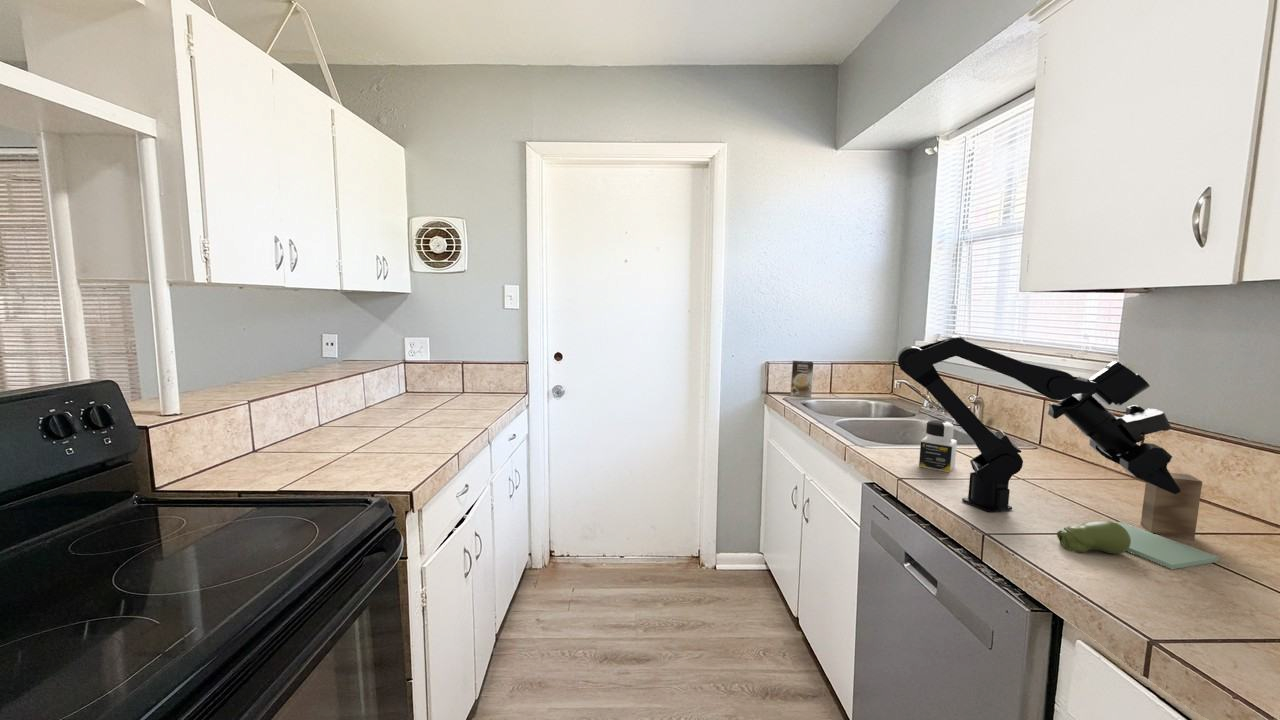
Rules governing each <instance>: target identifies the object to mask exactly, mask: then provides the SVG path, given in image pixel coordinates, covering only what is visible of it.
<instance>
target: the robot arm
mask: <svg viewBox="0 0 1280 720" xmlns="http://www.w3.org/2000/svg"><path fill="white" fill-rule="evenodd" d="M955 357H958V358H961V359H963V360H966V361H968V362H971V363H974V364H976V365H979V366H981V367H984V368H986V369H989V370H992V371H994V372H997V373H1000V374H1002V375H1003V376H1007V377H1010V378H1012V379H1015V380H1016V381H1017V382H1020V383H1022V384H1023V385H1025V386H1027V387H1029V388H1031V390H1034V391H1035V392H1037V393H1038V394H1041V395H1043V396H1044V397H1046V398H1048V399H1051V400H1054V401H1058V402H1056V403H1055V402H1054V403H1053V402H1049V403H1048V406H1049V407H1048V411H1047V415H1048V416H1050V417H1051V418H1053V419H1055V420H1056V419H1058V418H1060V417H1061V416H1063V415H1064V416H1065V417H1066V418H1067V419H1068V421H1070V422H1071V423H1072V424H1073V425H1074V426H1076V427H1077V428H1078V429H1079V430H1080V433H1082V435H1084V436H1086V437H1087V438H1089V446H1090V447H1091V448H1092V449H1093V450H1094V451H1095V452H1096V453H1098V454H1099V455H1101V456H1102V457H1104V458H1105V459H1107V460H1110V461H1111V462H1114V463H1115V464H1118V465H1120V466H1121V467H1122V468H1123V469H1124V470H1125V471H1126V472H1128V473H1129V474H1130V475H1132V476H1133V477H1135V478H1136V479H1139V480H1142V481H1144V482H1145V483H1146V482H1148V483H1150V484H1153V485H1155V486H1157V487H1159V488H1162V489H1164V490H1166V491H1168V492H1171V493H1173V494H1177V493H1179V492H1180V491H1181V490H1180V488H1179V487H1178V485H1177V484H1176V482H1175V481H1174V479H1173V478H1172V476H1171V474H1170V473H1171V472H1170V471H1169V469H1168V464H1169V463H1171V460H1172V458H1173V456H1172V455H1171V453H1169V452H1168V451H1167V450H1166V449H1164V448H1163V447H1162V446H1160V445H1157V444H1155V443H1147V442H1144V443H1142V444H1137V443H1141V442H1142V441H1144V440H1145V439H1146V437H1144V436H1145V435H1150V434H1154V433H1158V432H1161V431H1163V432H1166V431H1169V430H1172V426H1171V424H1170V422H1169V419H1168V418H1167V416H1166V413H1165V412H1164V411H1162V410H1159V409H1156V408H1149V407H1148V408H1146V409H1144V408H1143V407H1141V406H1140V405H1137V404H1133V405H1129V406H1126V408H1125V414H1123V416H1117V415H1116V414H1114V413H1111V411H1109V410H1108V409H1107V408H1106V407H1105V406H1104V405H1102V403H1101V402H1103V403H1104V404H1105V405H1107V406H1111V405H1112V404H1113V405H1115V406H1119V407H1120V406H1122V405H1123V404H1126V402H1128V401H1129V400H1131V399H1133V398H1135V397H1136V396H1137V395H1139V394H1141V393H1143V392H1144V391H1145V390H1147V389H1148V388H1150V387H1151V386H1150V384H1149V383H1148V382H1147V381H1146V379H1144V377H1142V376H1141V375H1140V374H1138V373H1135V371H1133V370H1131V369H1129V368H1128V367H1126V366H1124V365H1123V364H1122V363H1121V362H1119V361H1117V360H1113V361H1111V362H1109V363H1108V364H1107V365H1106V366H1105V367H1103V368H1102V369H1101V370H1100V371H1098V372H1097V373H1095V374H1094V375H1092V376H1091V377H1089V378H1085V377H1082V376H1073V374H1070V372H1066V371H1064V370H1061V369H1059V368H1055V367H1050V366H1046V365H1041V364H1035V363H1030V362H1026V361H1021V360H1018V359H1015V358H1012V357H1010V356H1008V355H1004V354H1002V353H1000V352H997V351H994V350H992V349H988V348H986V347H983V346H981V345H978V344H976V343H973V342H970V341H967V340H966V339H964V338H963V337H960V336H958V335H957V336H956V335H954V336H953V335H952V336H949V337H947V338H946V339H945V338H944V339H942V340H937V341H936V342H930V343H928V344H925V345H924V344H923V346H917V345H916V346H913V345H908V346H905V347H903V348H901V350H900V351H899V352H898V354H897V357H896V360H897V364H898V367H899V369H900V370H901V371H902V372H903V373H904V374H906V376H908V377H910V379H912V380H914V381H915V382H916V383H918V384H919V385H921V386H922V387H923V388H924V389H926V390H927V391H928V392H929V393H930V394H931V396H932V397H933V398H934V399H935V400H936V402H938V403H939V404H940V405H941V407H942V408H943V409H944V410H945V411H946V412H947V413H948V414H949V415H950V416H951V418H952V419H954V421H955V422H956V423H957V424H958V425H959V426H960V427H961V429H963V431H964V432H965V433H966V434H967V435H968V436H969V438H970V439H971V440H972V441H973V443H974V444H975V446H976V449H978V451H979V453H980V454H978V455H977V456H975V457H974V458H972V459H970V465H971V468H972V470H973V471H974V472H970V473H969V484H968V486H969V487H968V495H967V496H968V497H963V498H961V501H962V502H964V503H967V504H969V505H971V506H974V507H977V508H978V509H981V510H982V511H985V512H988V513H991V512H1000V511H1009V510H1013V506H1011V505H1010V503H1009V501H1010V492H1011V491H1010V489H1009V482H1010V480H1011V478H1012V477H1013V476H1014V475H1016V474H1018V473H1019V472H1020V471H1021V470H1022V468H1023V463H1024V461H1023V458H1022V456H1021V455H1020V454H1019V453H1022V450H1021V449H1020V448H1019V447H1018V446H1017V445H1016V444H1015V442H1012V441H1011V440H1010V438H1009V437H1008V435H1006V433H1005V432H1003V431H1002V429H1000V428H999V429H998V430H997V431H996V432H993V430H990V428H988V427H987V426H986V425H985V424H984V423H983V422H982V421H981V420H980V419H979V417H977V415H976V414H975V413H974V412H973V411H972V410H971V409H970V408H969V407H968V406H967V404H966V403H965V402H963V400H962V399H961V398H960V397H959V396H958V395H957V393H955V392H954V390H953V389H952V388H951V387H950V386H949V385H948V384H947V383H946V382H945V381H944V379H942V377H941V375H940V374H939V372H938V370H937V369H936V368H935V366H934V365H936V364H938V363H941V362H943V361H946V360H948V359H951V358H955ZM1093 395H1095V397H1097V399H1099V400H1100V401H1101V402H1099V400H1097V399H1096V398H1095V397H1094V396H1093Z"/></svg>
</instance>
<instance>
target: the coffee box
mask: <svg viewBox="0 0 1280 720" xmlns="http://www.w3.org/2000/svg"><path fill="white" fill-rule="evenodd" d="M791 365H792V368H791V381H790V383H791V384H790V397H795V398H796V397H797V398H810V399H811V398H812V391H813V374H814V362H813V361H808V360H806V361H805V360H792V363H791Z"/></svg>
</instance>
